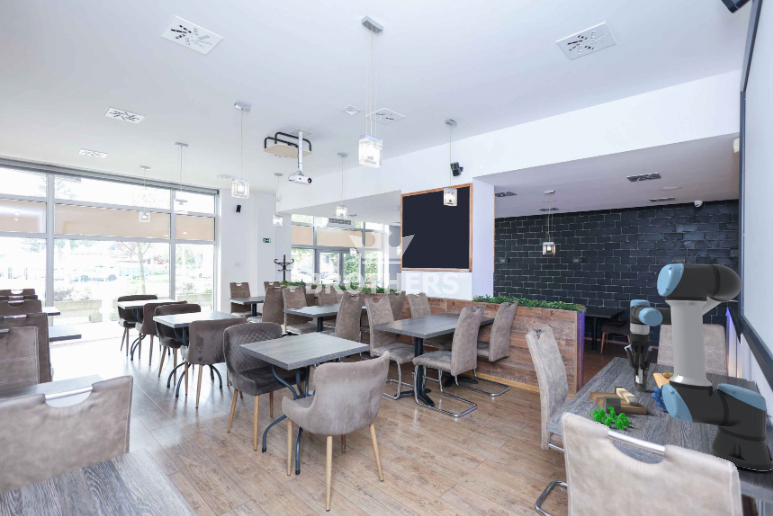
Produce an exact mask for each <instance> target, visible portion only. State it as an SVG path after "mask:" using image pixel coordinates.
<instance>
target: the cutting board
mask: <svg viewBox="0 0 773 516" xmlns="http://www.w3.org/2000/svg"><path fill="white" fill-rule="evenodd" d="M652 375H653V378H654V380H655V382H656V385H657V387H659V388H660V387H661V385H666V384H669V378H670V377H672V376H673V375H674V372H670V371H667V372H663V373H660V372H654V373H653V374H652ZM660 389H661V388H660Z"/></svg>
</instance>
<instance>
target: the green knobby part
mask: <svg viewBox="0 0 773 516" xmlns="http://www.w3.org/2000/svg"><path fill="white" fill-rule="evenodd" d="M607 408H608V409H610V413H609V416H608V415H607V413H605V411H604V409H603V408H601V407H600V408H598V410H596V409H593V410H591V411H590V413H589V416H590V418H591V417H592V421H593V420H594V422H595V421H597V422H600V423H601V424H602V423H603V422H604V426H605V425H607V426H609V427H610V428H611V427H612V422H614V423H615V426H616V427H615V428H617V430H618V429H619V430H621V431H624V429H625V428H629V427H630V428H632V426H633V423H632V420H631V419H630V418H629V417H628V415H627V413H621V414H618V416H617V414H616V412H614V410H613V409H614V408H613V407H611V406H608V407H607ZM611 410H612V411H611ZM594 418H595V419H594ZM601 421H602V422H601ZM630 424H631V426H630Z"/></svg>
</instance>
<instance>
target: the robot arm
mask: <svg viewBox="0 0 773 516" xmlns="http://www.w3.org/2000/svg"><path fill="white" fill-rule="evenodd" d="M656 285H657V286H656V288H657V291H658V292H657V293H658V294H659V295H660V296H661V297H664V302H665V303H666V304H668V306H669V307H651V304H650V301H649V300H647V299H632V300H630V306H629V308H630V309H629V310H630V311H629V312H630V313H629V315H630V316H629V318H630V320H629V321H630V323H629V324H630V327H629V330H630V333H629V340H630V342H629V343H628V345H627V346H623V349H624V350H625V353H626V355H627V356H626V357H627V359H628V363H629V367H631V368H632V367H633V368H634V374H633V376H634V375H636V382H638V383H641V384H642V377H643V376H644V370H646V368H649V369H650V365H651V361H652V358H653V355H654V353H655V351H656V348H654V347H652V346H651V344H650V334H649V333H650V326H651V327H656V326H671V339H672V343H671V344H672V359H673V360H672V362H673V373H674V375H673V376H672V377H670V378H669V384H666V385H664V386H663V389H662V395H663V400H664V404H665V406H666V409H667V411H668V412H667V413H668V414H669V416H670V417H671V418H672V419H674V420H676V421H679V422H685V423H688V424H701V425H711V426H717V429H716V432H715V433H714V436H713V439H712V441H711V443H710V453H711V454H712V455H713V457H715V456H717V457H720V458H723V459H726V460H729V461H731V462H733V463H734V464H735V465H736V466H735V467H737V465H738V466H740V467H745V468H750V469H756V470H770V469H772V468H773V456H772V454H771V451H770V448H769V445H768V443H767V412H768V409H767V408H768V407H767V400H766V398H765V397H764V396H763V395H761V394H760V393H759V392H757V391H754V390H751V389H749V388H745V387H743V386H737V385H734V384H728V383H718V384H717V386H716V388H713V383H712V382H710V381H709V380H708V379H707V373H706V372H707V370H706V356H705V355H706V354H705V340H704V339H705V338H704V324H703V321H704V320H703V316H704V315H705V314H707V313H708V312H709V311H710V310H712V309H713V308H715V307H717V306H718V305H720V304H721V303H726V302H729V301H731V300H733V299H734V298H736V297H737V296H738V295H739V293H740V292H741V290H742V279H741V278H740V275H738V273H737V272H736V271H734V269H732V268H730V267H729V266H726V265H723V264H718V263H668V264H666V265H665V266H663V267H662V268H661V270H660V272H659V274H658V278H657V284H656ZM632 352H633V353H632ZM639 367H640V368H639ZM633 368H632V369H633ZM717 457H716V458H717ZM740 467H739V468H740Z"/></svg>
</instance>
